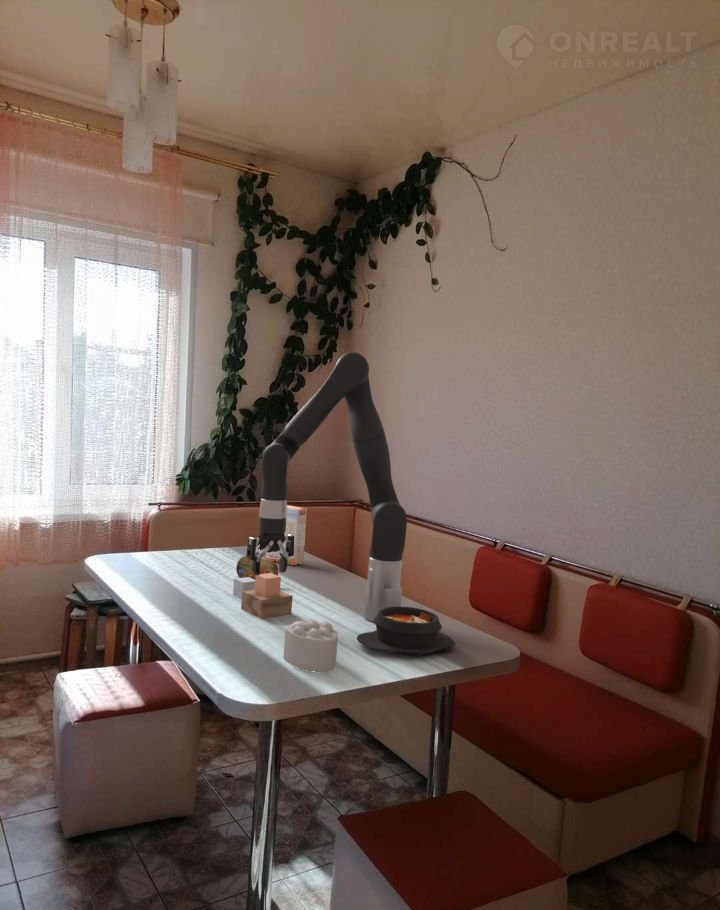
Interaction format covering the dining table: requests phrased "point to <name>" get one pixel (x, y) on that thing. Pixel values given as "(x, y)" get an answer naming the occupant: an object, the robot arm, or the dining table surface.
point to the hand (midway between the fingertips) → (269, 573)
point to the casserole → (406, 632)
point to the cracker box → (297, 529)
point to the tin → (246, 567)
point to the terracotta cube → (267, 584)
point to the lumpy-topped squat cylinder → (311, 646)
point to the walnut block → (266, 604)
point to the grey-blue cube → (243, 586)
